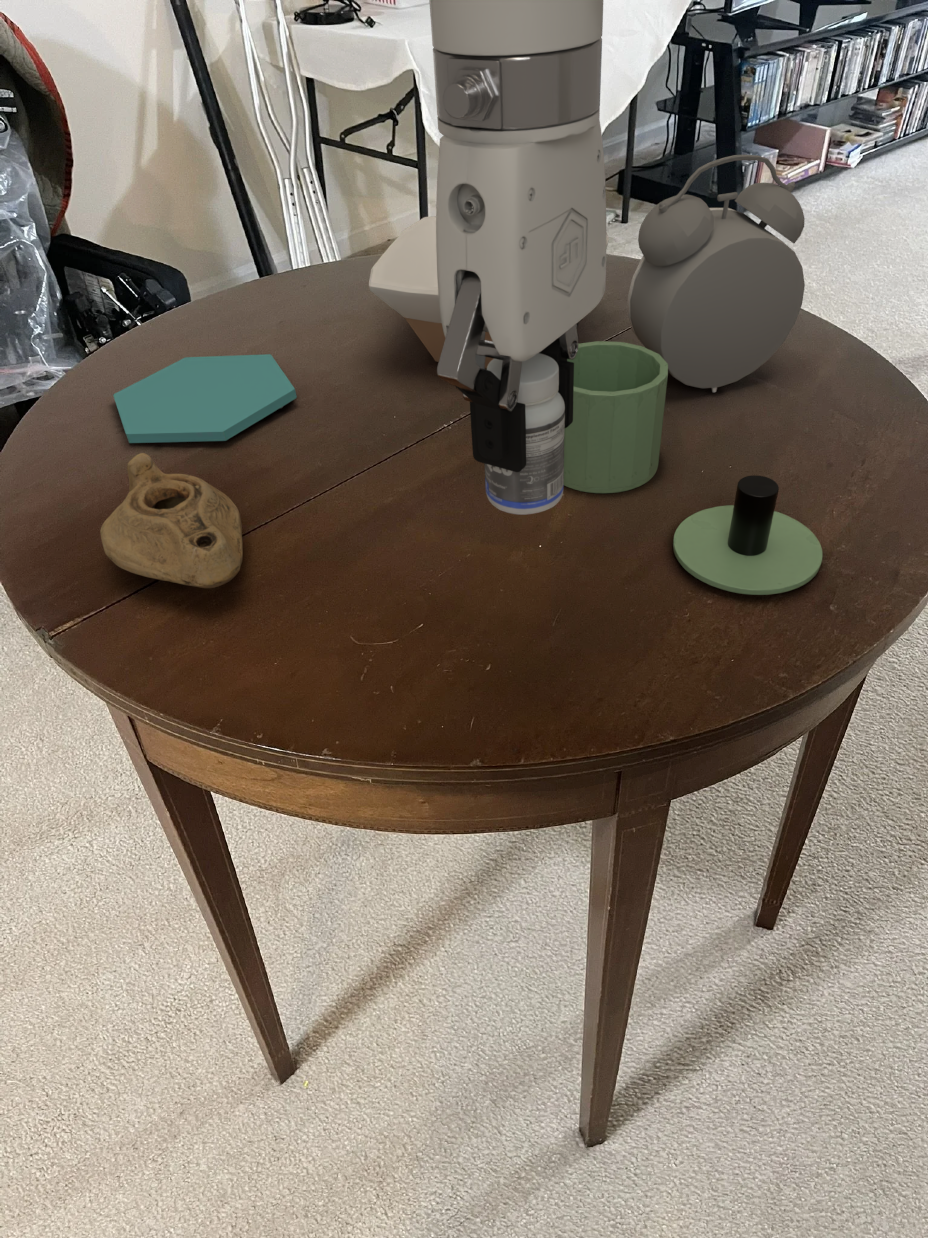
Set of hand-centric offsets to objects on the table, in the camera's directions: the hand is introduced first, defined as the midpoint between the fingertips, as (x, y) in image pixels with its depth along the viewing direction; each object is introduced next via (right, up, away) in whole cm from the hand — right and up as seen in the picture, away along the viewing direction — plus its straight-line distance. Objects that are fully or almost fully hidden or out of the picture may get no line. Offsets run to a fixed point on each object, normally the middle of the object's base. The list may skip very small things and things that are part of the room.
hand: (524, 439), depth 54 cm
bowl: (0, +21, +53) cm, 57 cm away
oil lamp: (-26, -6, +22) cm, 35 cm away
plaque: (-31, +12, +44) cm, 55 cm away
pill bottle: (0, -3, +3) cm, 4 cm away
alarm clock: (+22, +14, +43) cm, 50 cm away
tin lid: (+19, -5, +20) cm, 28 cm away
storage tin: (+9, +4, +32) cm, 33 cm away
